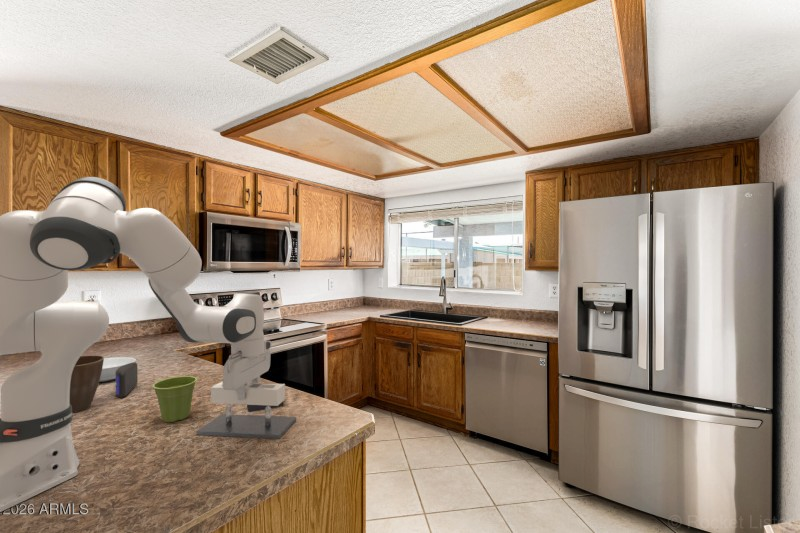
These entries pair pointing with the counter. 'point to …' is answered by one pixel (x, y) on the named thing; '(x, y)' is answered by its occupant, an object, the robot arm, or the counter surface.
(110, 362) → the serving bowl
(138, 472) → the counter surface
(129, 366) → the dark grey slab
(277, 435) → the mounting plate
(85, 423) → the counter surface
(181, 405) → the plant pot
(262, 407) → the calculator
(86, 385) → the plant pot
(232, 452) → the counter surface
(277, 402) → the power strip
